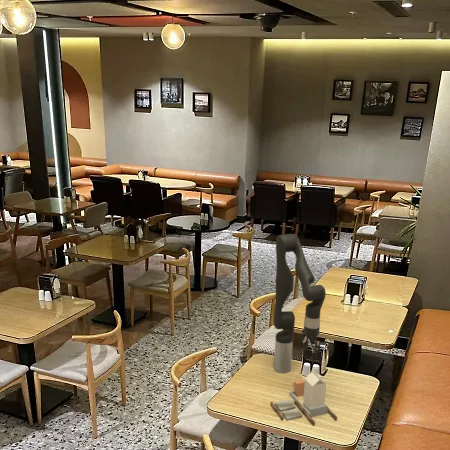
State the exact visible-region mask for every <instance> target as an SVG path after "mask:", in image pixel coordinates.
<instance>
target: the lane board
mask: <svg viewBox="0 0 450 450" xmlns="http://www.w3.org/2000/svg"><path fill="white" fill-rule="evenodd" d="M324 405H326V403H325V402H324ZM269 406H271V407H270V408H272V410H273V411H274V412H275V414H277V416H278V417H279V420H281V421H284V419H285V420H286V421H291V420H297V419H299V418H303V417H305V418H306V420H307V421H309V423H310V424H311V426H313V427H315V425H316V422H315V420H314V419H313V418H312V417H310V416H309V415H308V413H307V412H306V411H305V410H304V409H303V408H302V406H301V405H300V404H299V403H298V402H297V401H296V400H293V402H292V401H291V399H285V400H282V401H276V402H274V403H273V401H270V405H269ZM296 407H297V408H296ZM326 408H327V410H328V413H327V414H329V416H330V417H331V418H332V419H333V420H334V421H335V422H336V421H338V416H337V414H335V413H334V412H333V411H332V410H331V409H330V408H329V406H327V407H326Z"/></svg>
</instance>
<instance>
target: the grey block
mask: <svg viewBox="0 0 450 450" xmlns="http://www.w3.org/2000/svg"><path fill="white" fill-rule="evenodd" d="M304 386H305V378H301V379H295V380H293V389H291V390H290V391H289V392H288V393H289V396H290V397H291V398H292V399H293V401H294V400H296V401H297V402H298V403H299V404H300V405H301V406H302V408H303V409H304V410H305V411H306V412H307V413H308V415H309V416H310V417H311V418H312V417H316V416H320V415H321V416H322V415H326V414H329V413H328V410H327V408H326V407H328V406H327V404H325V405H321V406H316V407H312V408H309V411H308V410H307V409H306V408H305V407H304V406H303V403H302V402H301V401H300V400H299V399H298V397H300V396H304Z"/></svg>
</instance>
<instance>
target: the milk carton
mask: <svg viewBox="0 0 450 450" xmlns="http://www.w3.org/2000/svg"><path fill="white" fill-rule="evenodd" d="M304 381H305V386H304V395H303V401H302V402H303V403H302V404H303V406H304V407H305V408H306V409H307V410H308V411H309V408H312V407H316V406H321V405H324V403H325V399H326V387H327V383H326V382H325V381H323V376H322V375H321V374H320V373H319V374H317V372H316V371H315V370H314V369H312V370H311V372H310V373H309V374H308V375H307V376H306V377H305V378H304Z"/></svg>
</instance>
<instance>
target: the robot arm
mask: <svg viewBox="0 0 450 450" xmlns="http://www.w3.org/2000/svg"><path fill="white" fill-rule="evenodd" d="M275 253H276V254H275V255H276V256H275V257H276V258H275V259H276V269H275V270H276V274H275V275H276V276H275V302H274V310H273V326H274V328H275V329H276V330H280V331H278V332H276V334H275V339H274V340H275V342H274V354H273V358H274V359H273V368H274V370H275V371H276V372H278V373H281V374H283V373H284V374H286V373H289V372H291V370H292V362H293V361H292V358H293V343H294V342H293V341H294V333H295V332H294V331H295V323H296V322H295V321H296V317H295V316H296V315H295V314H294V312H293V311H291V310H289V311H288V310H287V311H283V306H284V304H285V303H286V301H287V300H288V298H289V297H290V296H291V294H292V292H293V290H294V282H295V281H294V277H295V276H294V273H293V272H292V270H291V268H290V267H289V265H288V263H287V257H286V254H287V253H293V254H294V255H295V265H294V266H295V267H294V270H295V274H296V276H297V278H298V280H299V282H300V285H301V289H302V295H303V298H304V299H305V301H307V302H309V303H307V304H306V306H305V315H304V320H303V321H304V322H303V329H302V330H301V336H300V338H301V341H302V343H303V346H302V348H303V351H308V350H309V348H310V349H311V351H312V352H311V359H312V360H316V359H317V358H318V356H317V355H318V354H319V353H321V341H320V340H317V339H318V338H317V337H318V336H319V334H320V328H321V327H320V326H321V310H322V307H323V303H324V301H325V299H326V295H327V293H326V289H325V287H324V285H322V284H317V285H316V284H315V285H314V284H313V283H314V282H315V278H316V277H315V276H314V274H313V272H312V270H311V269H310V267H309V265H308V262H307V258H306V257H305V254H304V250H303V247H302V244H301V241H300V239H299V237H298V236H297V235H296V234H294V233H288V234H287V233H286V234H280V235H279V234H278V235H277V237H276V240H275ZM312 284H313V285H312ZM309 346H310V347H309Z"/></svg>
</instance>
